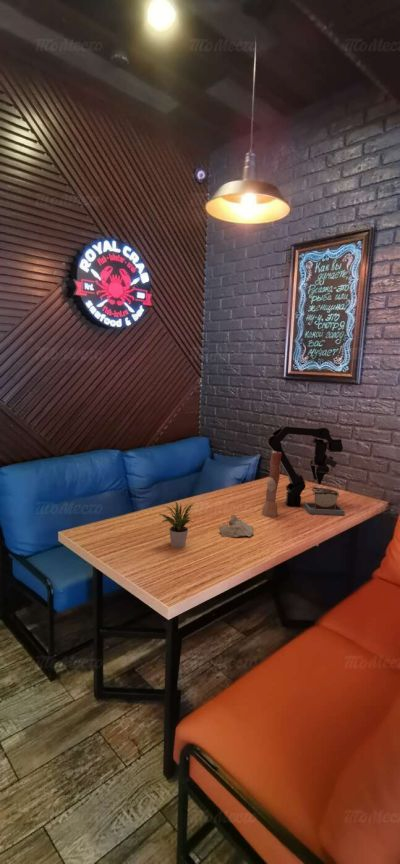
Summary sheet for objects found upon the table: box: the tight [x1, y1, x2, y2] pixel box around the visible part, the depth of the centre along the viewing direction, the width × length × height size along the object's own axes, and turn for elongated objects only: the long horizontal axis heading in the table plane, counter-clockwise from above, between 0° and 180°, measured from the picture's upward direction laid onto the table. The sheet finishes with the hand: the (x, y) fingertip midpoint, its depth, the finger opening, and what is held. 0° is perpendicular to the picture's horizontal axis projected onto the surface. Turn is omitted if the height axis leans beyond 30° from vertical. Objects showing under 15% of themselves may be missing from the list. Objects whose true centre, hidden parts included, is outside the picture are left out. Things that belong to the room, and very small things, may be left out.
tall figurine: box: [261, 450, 282, 518], centre depth 198 cm, size 11×7×30 cm
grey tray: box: [303, 502, 345, 517], centre depth 207 cm, size 17×11×2 cm, turn 91°
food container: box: [312, 487, 340, 510], centre depth 208 cm, size 12×6×10 cm, turn 91°
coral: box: [218, 514, 254, 539], centre depth 175 cm, size 18×16×5 cm
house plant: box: [158, 500, 196, 549], centre depth 159 cm, size 14×14×16 cm
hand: (317, 481), depth 215 cm, fingers open, 9 cm apart
